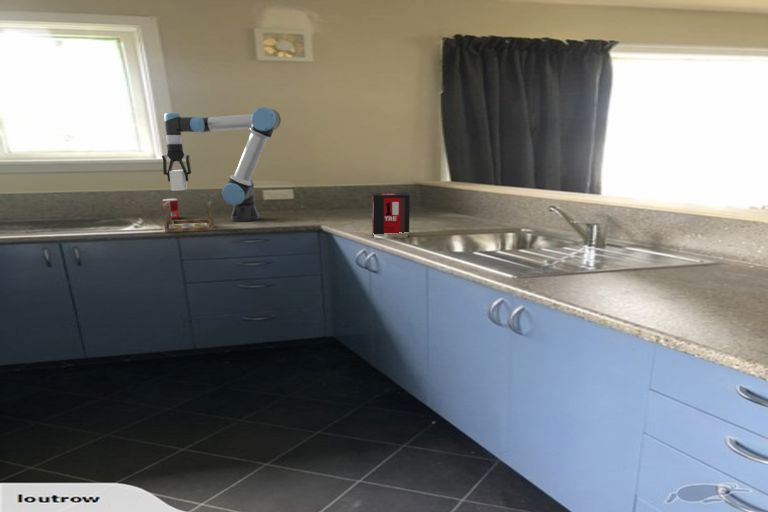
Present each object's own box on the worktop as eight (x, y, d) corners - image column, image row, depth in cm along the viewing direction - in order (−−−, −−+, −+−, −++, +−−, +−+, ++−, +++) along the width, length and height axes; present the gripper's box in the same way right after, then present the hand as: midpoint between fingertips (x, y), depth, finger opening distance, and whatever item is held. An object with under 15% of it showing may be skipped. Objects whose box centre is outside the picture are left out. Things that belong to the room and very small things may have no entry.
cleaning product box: (406, 234, 240) (407, 193, 236) (409, 238, 232) (409, 195, 227) (372, 235, 239) (372, 193, 234) (373, 238, 230) (373, 195, 226)
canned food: (181, 217, 293) (179, 198, 290) (174, 219, 285) (172, 200, 283) (169, 217, 294) (167, 198, 291) (162, 219, 286) (159, 200, 283)
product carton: (183, 190, 263) (181, 171, 260) (170, 190, 262) (168, 171, 259) (187, 188, 274) (185, 169, 272) (175, 188, 273) (173, 170, 271)
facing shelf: (214, 225, 265) (212, 200, 262) (211, 230, 252) (209, 203, 249) (170, 227, 261) (167, 201, 258) (164, 231, 248) (162, 204, 244)
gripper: (194, 143, 268) (198, 186, 273) (156, 143, 264) (161, 187, 269) (192, 143, 261) (196, 187, 266) (153, 143, 257) (158, 188, 262)
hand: (179, 187), depth 268 cm, fingers closed on product carton, 6 cm apart
